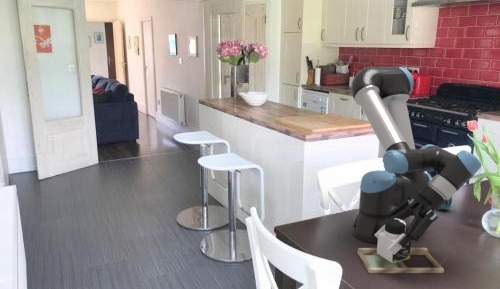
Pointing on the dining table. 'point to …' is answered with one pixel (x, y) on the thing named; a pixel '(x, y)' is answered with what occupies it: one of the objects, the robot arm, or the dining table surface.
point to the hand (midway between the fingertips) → (383, 244)
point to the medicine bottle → (387, 238)
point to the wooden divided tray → (382, 265)
